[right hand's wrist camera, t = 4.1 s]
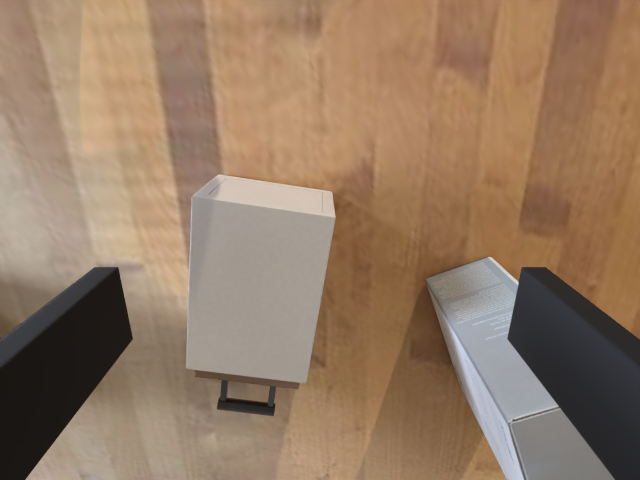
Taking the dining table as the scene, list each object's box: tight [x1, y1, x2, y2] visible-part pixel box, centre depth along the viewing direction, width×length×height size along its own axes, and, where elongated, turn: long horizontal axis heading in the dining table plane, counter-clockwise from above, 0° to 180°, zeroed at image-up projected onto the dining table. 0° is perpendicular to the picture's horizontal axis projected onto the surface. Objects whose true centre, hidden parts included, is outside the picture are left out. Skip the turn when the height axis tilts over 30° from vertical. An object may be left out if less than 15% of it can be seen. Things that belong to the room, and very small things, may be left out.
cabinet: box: [186, 175, 336, 383], centre depth 37 cm, size 17×11×8 cm
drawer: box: [195, 370, 299, 416], centre depth 39 cm, size 21×10×6 cm, turn 171°
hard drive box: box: [426, 257, 615, 480], centre depth 34 cm, size 16×8×20 cm, turn 22°
